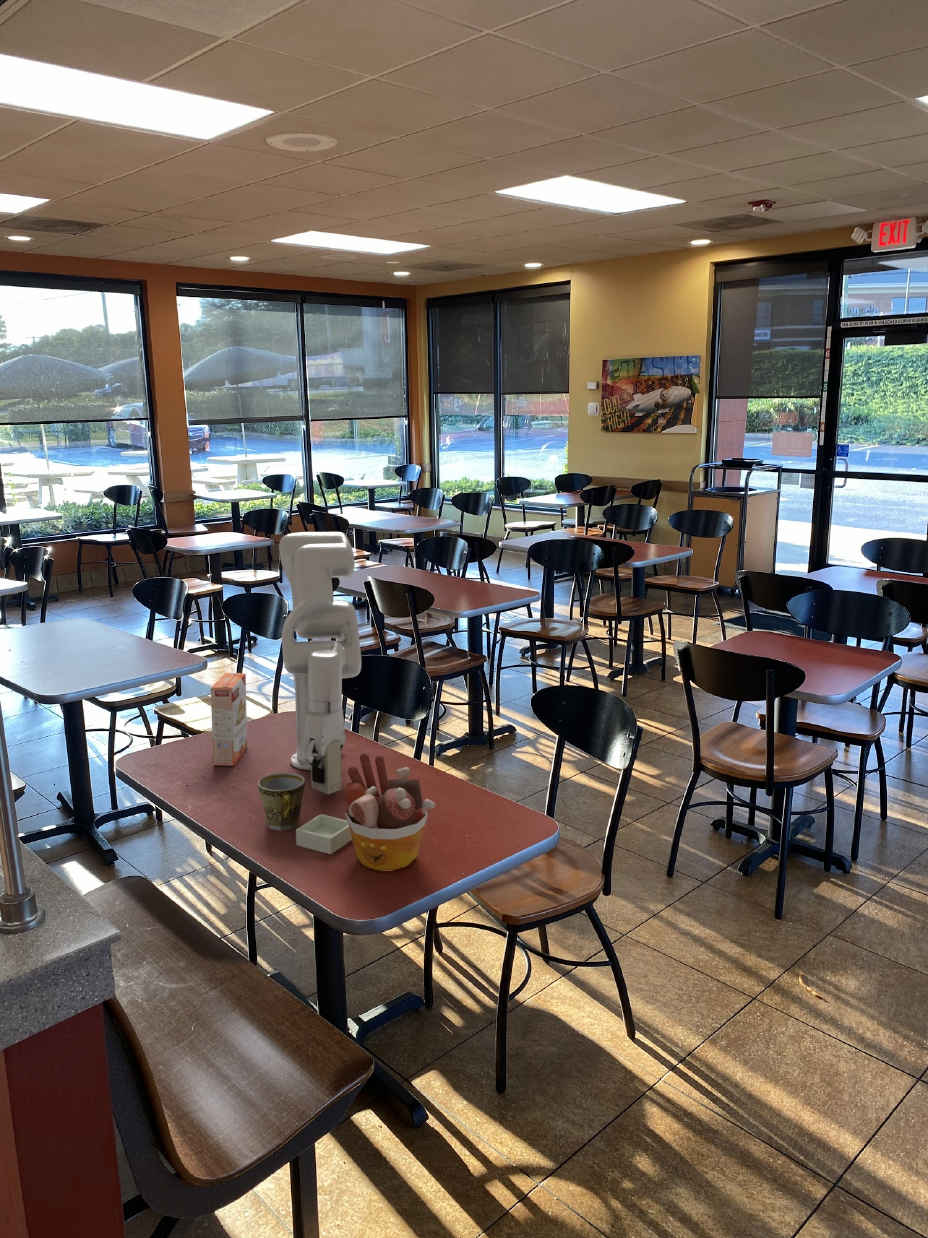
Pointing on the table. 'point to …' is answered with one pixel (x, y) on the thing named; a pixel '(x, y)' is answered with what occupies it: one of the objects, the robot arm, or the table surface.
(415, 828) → the bucket of meat
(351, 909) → the table surface
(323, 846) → the holder
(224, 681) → the cracker box
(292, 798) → the ceramic cup
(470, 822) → the table surface
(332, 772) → the skincare box
